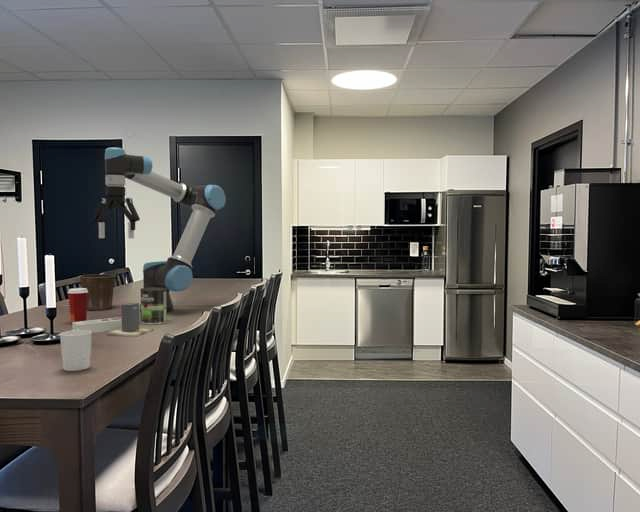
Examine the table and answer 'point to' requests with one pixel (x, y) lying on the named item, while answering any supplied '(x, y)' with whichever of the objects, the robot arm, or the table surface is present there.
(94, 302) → the plant pot
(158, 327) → the table surface
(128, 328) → the block
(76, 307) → the paper cup
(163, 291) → the coffee can
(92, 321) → the power strip
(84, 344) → the white cup
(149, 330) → the birch pad
